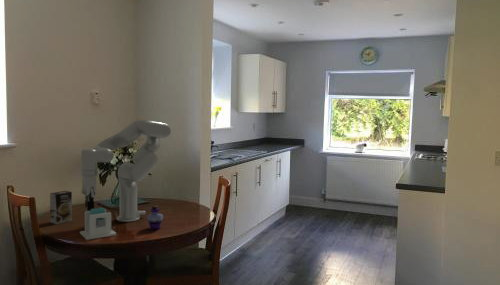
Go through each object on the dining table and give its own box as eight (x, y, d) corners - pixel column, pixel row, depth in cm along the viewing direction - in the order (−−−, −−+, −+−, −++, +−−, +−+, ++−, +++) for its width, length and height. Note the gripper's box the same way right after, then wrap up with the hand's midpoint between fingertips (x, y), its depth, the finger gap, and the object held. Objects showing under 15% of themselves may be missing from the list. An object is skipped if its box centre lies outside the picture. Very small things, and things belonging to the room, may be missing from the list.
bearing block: (108, 228, 208) (108, 207, 207) (116, 234, 198) (116, 212, 197) (79, 233, 199) (79, 211, 199) (86, 239, 190) (86, 216, 189)
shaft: (92, 215, 212) (91, 193, 211) (104, 225, 195) (104, 200, 194) (86, 216, 210) (85, 193, 209) (98, 226, 193) (97, 201, 192)
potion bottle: (156, 225, 216) (156, 203, 215) (166, 228, 211) (167, 205, 210) (142, 228, 209) (142, 205, 208) (153, 232, 204) (153, 208, 203)
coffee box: (57, 224, 214) (56, 194, 212) (49, 222, 217) (49, 192, 216) (72, 220, 221) (72, 191, 220) (65, 218, 225) (64, 190, 224)
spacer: (102, 215, 201) (102, 207, 201) (104, 217, 198) (104, 209, 198) (90, 217, 198) (90, 209, 198) (93, 218, 195) (93, 210, 194)
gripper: (77, 171, 212) (78, 205, 214) (86, 175, 199) (86, 212, 201) (92, 170, 217) (92, 204, 218) (101, 174, 204) (101, 210, 205)
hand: (89, 207), depth 210 cm, fingers closed on shaft, 3 cm apart
